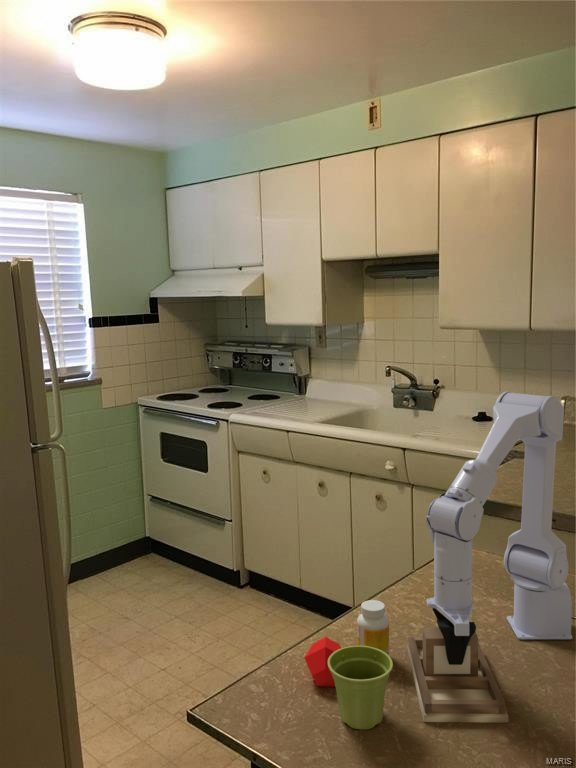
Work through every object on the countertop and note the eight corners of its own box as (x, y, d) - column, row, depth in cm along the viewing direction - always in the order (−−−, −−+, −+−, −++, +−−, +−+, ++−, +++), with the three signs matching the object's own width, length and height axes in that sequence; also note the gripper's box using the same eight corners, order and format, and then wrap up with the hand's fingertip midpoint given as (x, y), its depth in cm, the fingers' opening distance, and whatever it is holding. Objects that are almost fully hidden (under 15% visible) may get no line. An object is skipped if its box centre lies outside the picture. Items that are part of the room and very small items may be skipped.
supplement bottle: (350, 657, 113) (350, 604, 112) (372, 646, 116) (372, 595, 115) (374, 670, 109) (373, 615, 108) (395, 659, 112) (395, 605, 111)
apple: (343, 664, 101) (342, 623, 108) (300, 669, 102) (302, 628, 109) (352, 694, 104) (351, 652, 111) (310, 698, 106) (312, 657, 113)
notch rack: (476, 649, 115) (476, 635, 114) (508, 722, 95) (508, 706, 94) (406, 649, 115) (406, 635, 115) (423, 721, 95) (423, 705, 95)
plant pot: (329, 738, 93) (328, 680, 91) (328, 698, 102) (327, 645, 101) (396, 738, 92) (396, 680, 91) (389, 698, 101) (388, 644, 100)
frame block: (472, 668, 106) (473, 627, 106) (478, 681, 103) (478, 638, 102) (422, 668, 107) (422, 627, 106) (426, 680, 103) (426, 638, 102)
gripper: (420, 556, 110) (420, 633, 112) (434, 594, 96) (434, 682, 98) (463, 555, 110) (462, 633, 111) (484, 594, 95) (483, 682, 97)
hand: (452, 656), depth 104 cm, fingers closed on frame block, 3 cm apart
